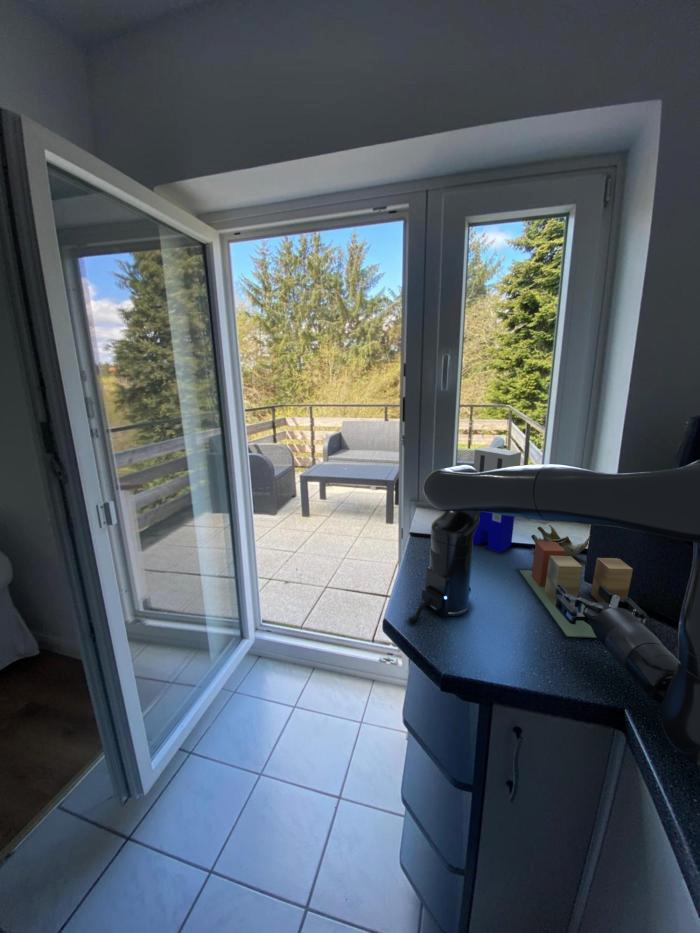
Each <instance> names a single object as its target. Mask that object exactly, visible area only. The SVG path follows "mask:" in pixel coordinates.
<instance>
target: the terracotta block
mask: <svg viewBox="0 0 700 933" xmlns="http://www.w3.org/2000/svg"><path fill="white" fill-rule="evenodd" d="M534 549H535V551H534V553H533V561H532V568H531V570H532V577H533V579H534V580H535V581H536V583H537V584H538V585H539V587H545V585H546V578H547V570H548V563H549V556H565V550H564V549H563V548H562V547H561V546H560V545H559V544H557V543H556V542H536V544H535V543H534Z"/></svg>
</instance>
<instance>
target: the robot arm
mask: <svg viewBox="0 0 700 933" xmlns="http://www.w3.org/2000/svg"><path fill="white" fill-rule="evenodd" d="M422 488H423V489H422V490H423V495H424V497H425V499H426V501H427V502H428V504H429V505H431V506H432V507H433V508H435V509H436V510H439V511H441V512H442V513H441V514H440V515H439V516H438V517H436V518H435V519H434V520H433V521H432V523H431V526H430V546H429V547H430V548H429V564H428V565H429V566H428V567H426V568H425V585H424V587H423V588H422V589H421V600H423V602H422V603H421V604H420V606H418V608H417V611H416V613H415V615H413V616H412V617H409V618H408V619H409V622H410V623H413V622H416V621H417V620H419V618H420V616H421V614H422V611H423V610H424V609H425V608H426V607H428V608H429V609H431V610H432V611H433V612H435V613H436V614H438V615H440V616H441V617H442V618H446V617H458V616H461V615H464V614H465V613H467V612H468V610H469V608H470V607H469V606H470V605H469V604H470V601H469V600H470V595H471V592H472V588H471V576H472V565H473V564H472V562H473V552H474V551H473V550H474V543H473V541H474V533H475V531H476V529H477V527H478V525H479V519H480V512H488V513H493V514H499V515H506V516H514V518H521V517H522V518H521V519H524V518H528V519H535V520H543V521H550V522H552V523H553V522H554V523H567V524H576V525H577V524H578V525H587V526H589V525H590V526H603V527H615V528H621V529H626V530H631V531H637V532H642V533H647V534H652V535H657V536H662V537H665V538H670V539H676V540H681V541H684V542H690V543H693V549H692V550H693V552H692V562H691V567H690V574H689V578H688V582H687V586H686V589H685V593H684V596H683V600H682V604H681V607H680V614H679V617H678V618H679V619H678V625H677V627H678V628H677V656H675V655H674V653H672V652H671V651H670V650H669V649H668V648H667V647H666V646H665V644H664V643H663V642H662V641H661V640H660V638H659V637H658V636H657V635H656V634H654V632H652V631H651V630H650V629H649V628H648V627H647V626H646V621H647V616H648V614H647V613H646V612H645V611H644V610H643V609H642V608H641V607H640V606H639V605H638V604H637V603H636V602H635V601H634V600H633V599H632V598H631V597H629V596H627V597H624V599H622V598H620V597H619V596H617V595H614V594H613V593H612V592H611V591H610V590H609V589H607V588H606V587H604V586H599V591H598V594H599V596H600V597H601V598H602V599H603V600H604V601H605V602H606V603H605V602H598V601H590V600H588V599H586V598H583V597H582V596H579V597H577V598H576V597H574V596H572V595H570V593H569V592H568V591H567V590H566V588H565V587H564V586H563V585H558V587H557V589H556V594H557V600H556V605H555V607H556V608H557V609H558V610H559V612H560V613H561V614H562V615H563V616H564V617H565V618H566V620H567V621H568V622H569V623H570V624H576V621H584V622H586V623H587V624H589V625H590V626H591V628H592V630H593V632H594V634H595V636H596V637H597V638H596V639H597V640H598V641H599V642H600V643H601V644H602V646H603V647H604V648H605V649H606V650H607V651H608V652H609V654H610V655H611V656H612V658H613V659H614V660H615V661H616V662H617V663H618V664H619V665H620V666H621V667H622V668H623V669H624V670H625V671H626V672H627V673H628V674H629V675H630V676H631V678H632V679H633V680H634V681H635V682H636V683H637V684H638V686H639V688H641V689H642V691H643V692H645V694H646V695H647V696H648V697H649V698H650V699H652V700H653V701H654V702H657V703H659V704H661V705H660V722H661V727H662V730H663V733H664V735H665V738H666V739H667V741H668V742H669V744H670V745H671V747H672V748H673V750H674V751H675V752H677V754H678V755H679V756H681V757H682V758H683V759H685V760H686V761H688V762H690V763H691V764H695V765H698V766H700V459H697V460H695V461H693V462H691V463H689V464H687V465H684V466H681V467H676V468H671V469H664V470H653V471H642V472H625V473H624V472H623V473H619V472H618V473H617V472H616V473H614V472H604V471H603V472H602V471H597V470H593V469H588V468H585V467H582V466H577V465H572V464H566V463H565V464H563V463H547V464H546V463H540V464H538V463H537V464H524V465H520V466H514V467H507V468H501V469H495V470H490V471H485V472H479V473H478V471H477V470H476V469H475V468H474V466H472V465H469V464H457V465H452V466H446V467H445V466H444V467H441V468H437V469H435V470H433V471H432V472H430V473H429V474H428V475H427V477H426V478H425V480H424V483H423V487H422ZM571 601H573V602H575V606H574V605H572V604H570V602H571ZM582 604H583V605H584V606H585V607H584V610H583V612H582V611H581V606H582Z"/></svg>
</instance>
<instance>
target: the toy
mask: <svg viewBox="0 0 700 933" xmlns="http://www.w3.org/2000/svg"><path fill="white" fill-rule="evenodd" d="M521 461H522V451H518V450H512V449H505V448H499V447H492V446H483V447H479V448H475V449H474V456H473V468H475V469H476V470H477V471H478V473H479V472H485V471H490V470H495V469H501V468H507V467H514V466H521ZM520 518H521V519H525V520H528V521H530V522H535V523H538V524H541V525H547V524H549V523H550V522H551V521H543V520H535V519H528V518H522V517H520ZM514 523H515V517H514V516H506V515H499V514H493V513H488V512H480V519H479V525H478V527H477V529H476V531H475V533H474V541H473V545H474V544H475V545H477V546H481V545H483V544H485V543H487V546H486V547H487V549H490V550H491V551H495V552H497V553H502V552H503V551H505V550H507V549H508V548H510V547H512V544H513V543H512V542H513V535H514V534H513V533H514Z"/></svg>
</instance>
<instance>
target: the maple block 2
mask: <svg viewBox="0 0 700 933" xmlns="http://www.w3.org/2000/svg"><path fill="white" fill-rule="evenodd" d="M633 571H634V570H633V568H632V567H631V566H630V565H629V564H627V563H626V562H625V561H623V560H622V559H621V558H619V559H618V557H597V558H596V561H595V567H594V572H593V574H594V575H593V577H592V584H591V589H590V590H591V591H590V595H591V596H592V598H594V600H596V602H605V601H604V600H603V599H602V598H601V597H600V596H599V594H598V591H599V586H604V587H606V588H607V589H609V590H610V591H611V592H612V593H613V594H614V595H617V596H619V597H620V598H622V599H624V597H629V591H630V585H631V580H632V576H633ZM605 603H606V602H605Z"/></svg>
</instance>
